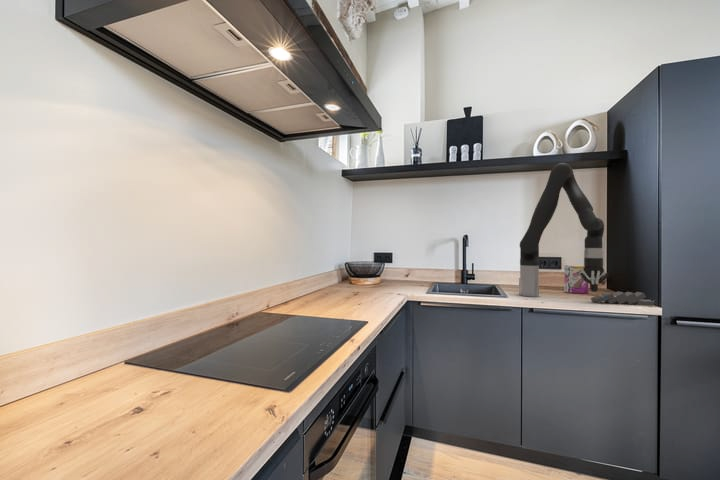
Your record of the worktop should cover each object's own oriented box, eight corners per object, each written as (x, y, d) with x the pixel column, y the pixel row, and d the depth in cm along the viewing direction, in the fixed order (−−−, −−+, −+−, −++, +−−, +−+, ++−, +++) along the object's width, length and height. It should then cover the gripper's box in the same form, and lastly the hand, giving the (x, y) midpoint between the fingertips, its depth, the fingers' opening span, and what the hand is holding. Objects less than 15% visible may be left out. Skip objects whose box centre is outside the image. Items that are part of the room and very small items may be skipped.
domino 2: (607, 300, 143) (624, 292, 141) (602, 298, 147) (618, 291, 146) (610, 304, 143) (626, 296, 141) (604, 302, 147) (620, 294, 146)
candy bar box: (568, 293, 172) (568, 265, 172) (563, 292, 177) (563, 265, 177) (589, 293, 171) (588, 265, 171) (583, 292, 176) (583, 265, 176)
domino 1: (595, 299, 144) (612, 293, 143) (590, 298, 148) (606, 291, 147) (597, 303, 144) (614, 297, 142) (592, 301, 148) (608, 295, 147)
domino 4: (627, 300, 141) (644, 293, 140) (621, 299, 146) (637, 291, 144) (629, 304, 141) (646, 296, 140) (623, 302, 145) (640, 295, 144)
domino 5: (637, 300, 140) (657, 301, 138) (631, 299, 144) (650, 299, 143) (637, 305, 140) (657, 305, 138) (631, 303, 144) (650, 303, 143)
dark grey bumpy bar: (617, 300, 142) (633, 293, 141) (611, 299, 146) (627, 291, 145) (619, 304, 142) (636, 296, 140) (614, 302, 146) (630, 295, 145)
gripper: (604, 256, 149) (604, 290, 148) (574, 256, 152) (575, 289, 151) (613, 257, 141) (613, 293, 141) (582, 257, 144) (582, 292, 144)
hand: (593, 291), depth 146 cm, fingers closed
